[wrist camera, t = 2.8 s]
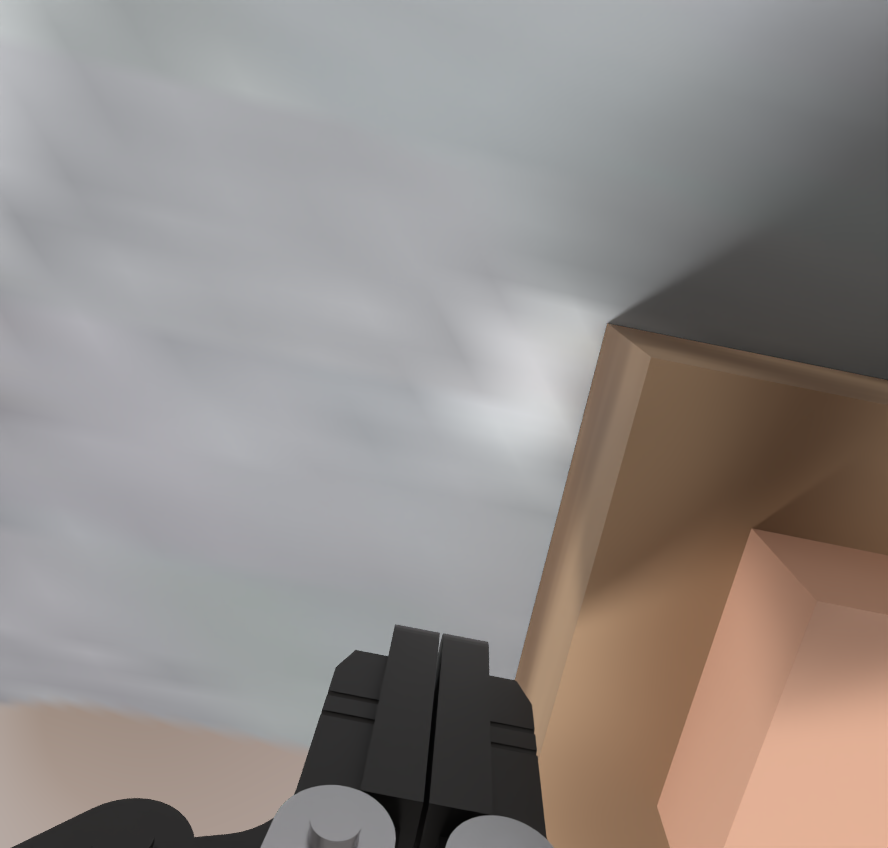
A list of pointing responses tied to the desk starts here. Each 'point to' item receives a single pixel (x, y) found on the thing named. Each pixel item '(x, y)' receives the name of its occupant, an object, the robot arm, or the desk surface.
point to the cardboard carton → (676, 552)
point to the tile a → (789, 707)
